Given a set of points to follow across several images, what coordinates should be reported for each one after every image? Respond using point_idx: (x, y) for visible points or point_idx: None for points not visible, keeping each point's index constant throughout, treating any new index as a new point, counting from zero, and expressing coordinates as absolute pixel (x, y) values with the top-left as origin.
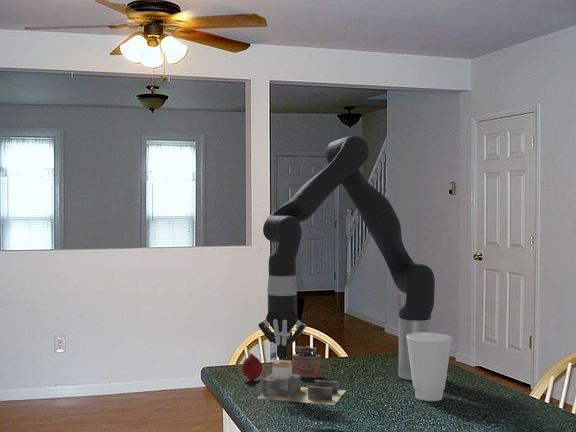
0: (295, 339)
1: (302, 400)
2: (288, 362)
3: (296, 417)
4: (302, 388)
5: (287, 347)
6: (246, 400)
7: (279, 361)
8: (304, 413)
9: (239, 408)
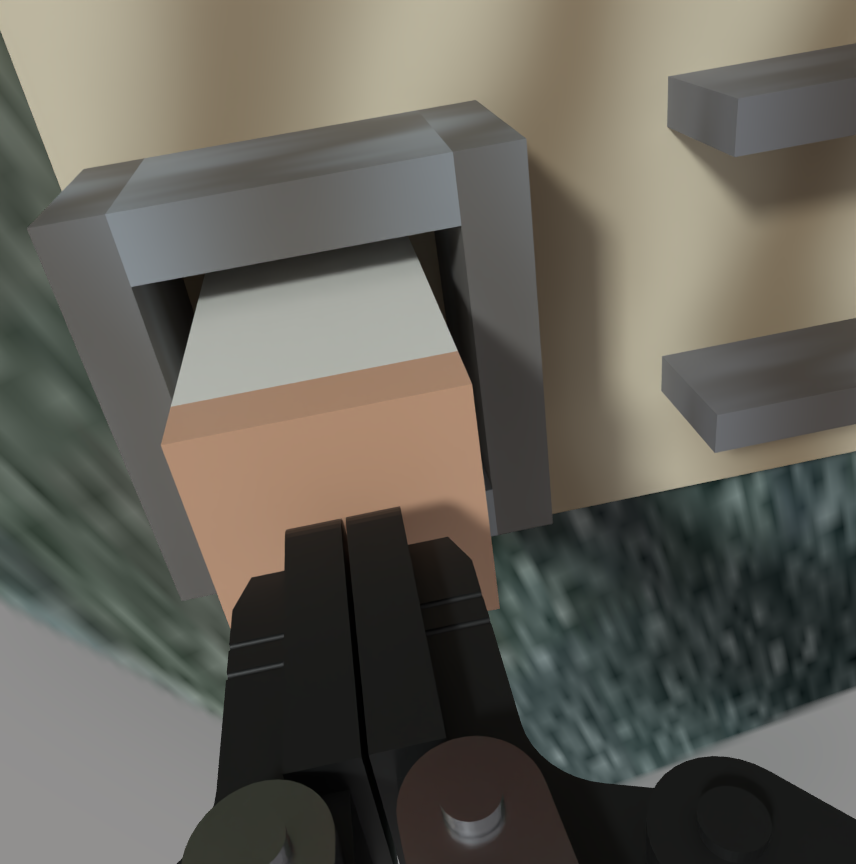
0: (827, 859)
1: (624, 454)
2: (467, 512)
3: (637, 642)
4: (469, 8)
5: (500, 721)
6: (48, 500)
7: (282, 528)
8: (667, 556)
9: (162, 677)
